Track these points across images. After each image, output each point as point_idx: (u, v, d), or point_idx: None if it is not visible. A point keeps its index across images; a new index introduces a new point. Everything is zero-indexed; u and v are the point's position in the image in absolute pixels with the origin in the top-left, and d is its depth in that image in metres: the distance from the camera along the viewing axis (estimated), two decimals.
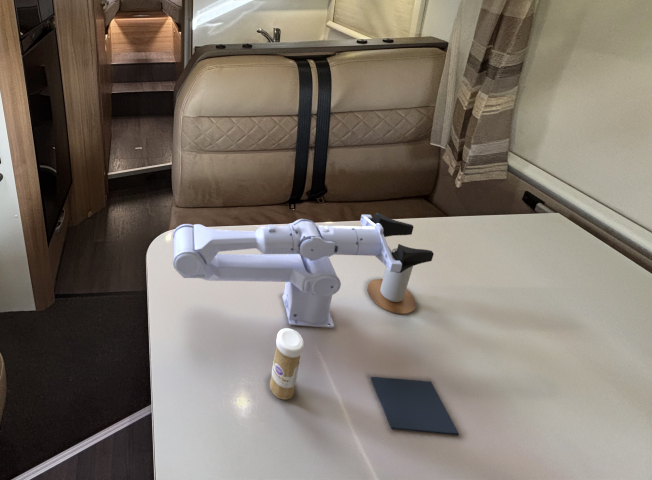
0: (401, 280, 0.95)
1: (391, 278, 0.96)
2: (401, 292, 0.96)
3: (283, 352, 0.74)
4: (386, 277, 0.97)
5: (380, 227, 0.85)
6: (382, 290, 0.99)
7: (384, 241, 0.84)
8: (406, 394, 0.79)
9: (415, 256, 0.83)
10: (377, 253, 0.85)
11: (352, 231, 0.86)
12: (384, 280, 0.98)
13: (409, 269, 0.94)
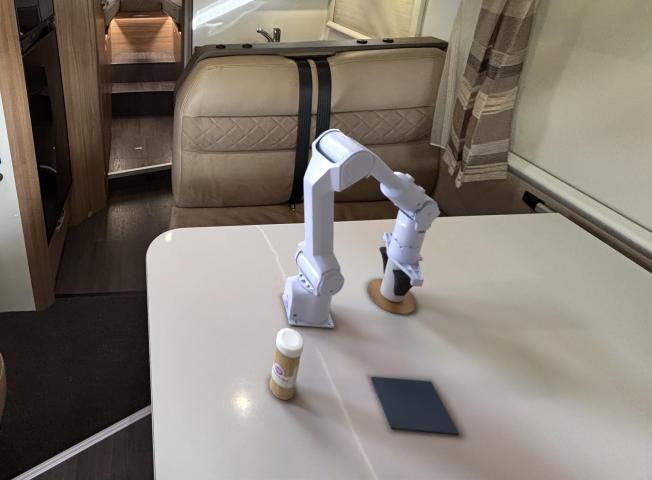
0: None
1: (391, 278, 0.96)
2: None
3: (283, 352, 0.74)
4: (386, 277, 0.97)
5: None
6: (382, 290, 0.99)
7: (418, 265, 0.93)
8: (406, 394, 0.79)
9: (404, 285, 0.94)
10: (405, 261, 0.92)
11: None
12: (384, 280, 0.98)
13: None
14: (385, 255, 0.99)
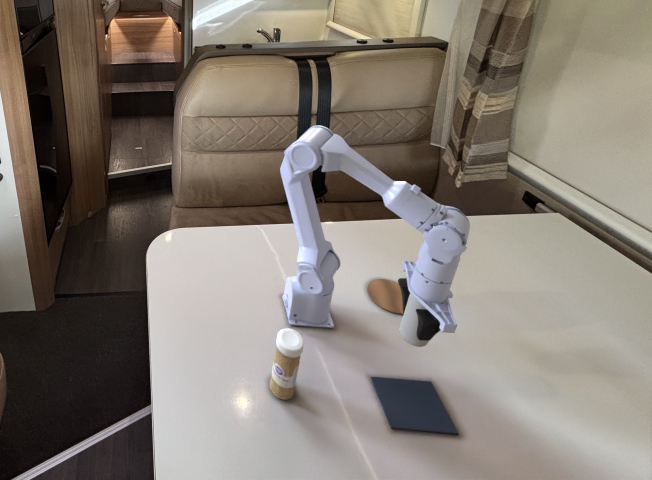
0: None
1: (413, 318, 0.78)
2: None
3: (283, 352, 0.74)
4: (408, 316, 0.80)
5: None
6: (402, 331, 0.81)
7: None
8: (406, 394, 0.79)
9: (431, 328, 0.77)
10: (432, 300, 0.75)
11: (453, 278, 0.73)
12: (405, 320, 0.80)
13: None
14: (405, 289, 0.81)
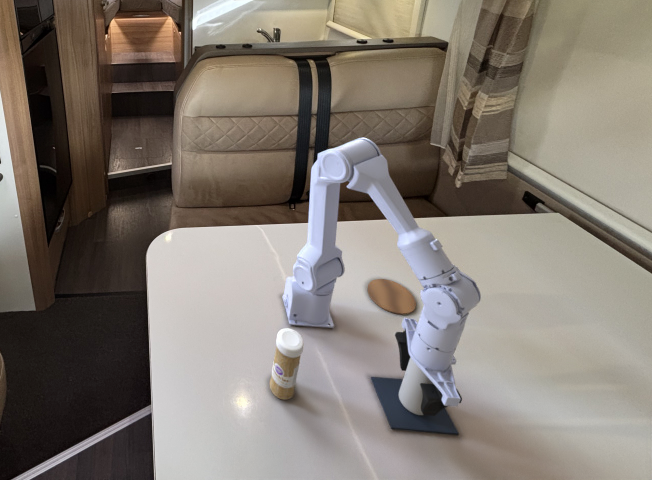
0: None
1: (413, 386, 0.74)
2: None
3: (283, 352, 0.74)
4: (407, 383, 0.75)
5: None
6: (401, 397, 0.77)
7: None
8: None
9: (436, 403, 0.71)
10: (434, 368, 0.70)
11: (453, 348, 0.68)
12: (404, 386, 0.76)
13: None
14: (403, 345, 0.77)
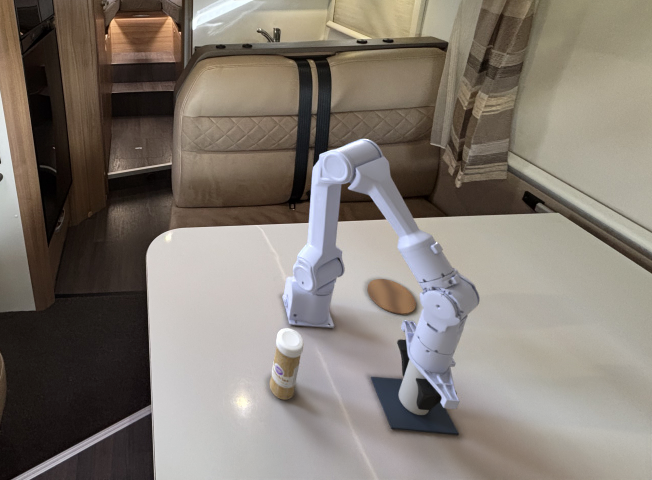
0: None
1: (413, 386, 0.74)
2: None
3: (283, 352, 0.74)
4: (407, 383, 0.75)
5: None
6: (401, 397, 0.77)
7: None
8: None
9: (431, 398, 0.72)
10: (433, 370, 0.70)
11: (452, 351, 0.68)
12: (404, 386, 0.76)
13: None
14: (405, 353, 0.76)
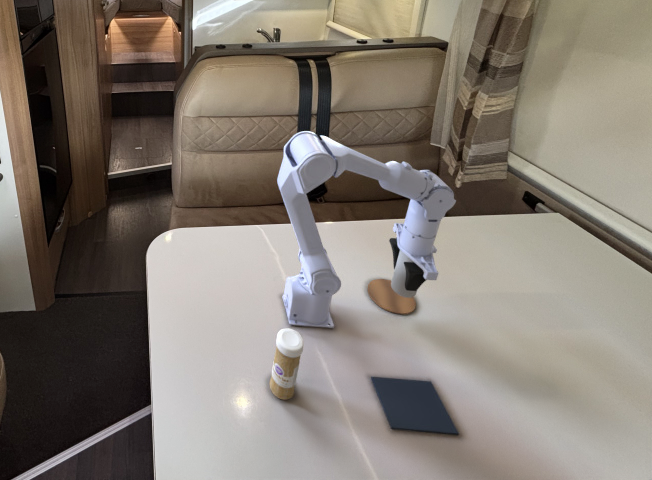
0: None
1: (403, 271, 0.89)
2: None
3: (283, 352, 0.74)
4: (397, 270, 0.90)
5: None
6: (393, 285, 0.92)
7: (432, 257, 0.85)
8: (406, 394, 0.79)
9: (417, 279, 0.87)
10: (418, 253, 0.85)
11: None
12: (395, 274, 0.91)
13: None
14: (395, 247, 0.91)
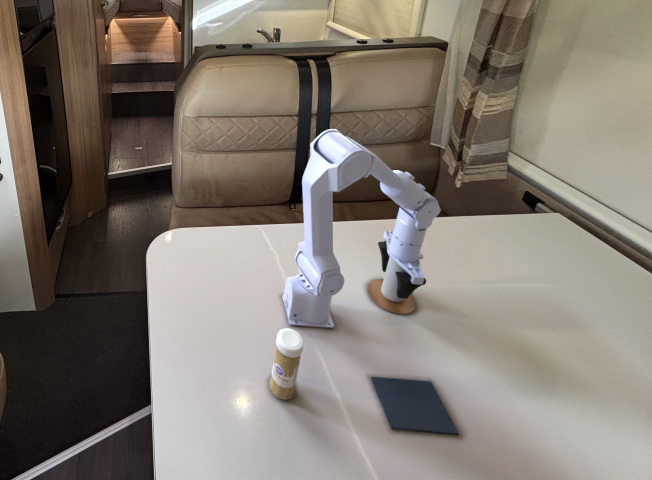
0: None
1: (392, 278, 0.96)
2: None
3: (283, 352, 0.74)
4: (387, 277, 0.97)
5: None
6: (383, 290, 0.99)
7: (419, 263, 0.92)
8: (406, 394, 0.79)
9: (408, 288, 0.93)
10: (406, 259, 0.92)
11: None
12: (385, 280, 0.98)
13: None
14: (383, 250, 1.00)
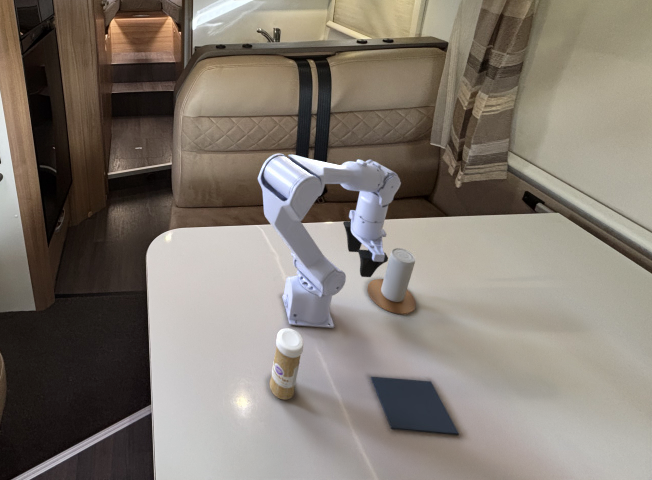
0: (402, 280, 0.95)
1: (392, 278, 0.96)
2: (402, 292, 0.96)
3: (283, 352, 0.74)
4: (387, 277, 0.97)
5: None
6: (383, 290, 0.99)
7: (381, 241, 0.91)
8: (406, 394, 0.79)
9: (370, 266, 0.92)
10: (368, 237, 0.91)
11: None
12: (385, 280, 0.98)
13: (410, 269, 0.94)
14: (348, 229, 0.98)
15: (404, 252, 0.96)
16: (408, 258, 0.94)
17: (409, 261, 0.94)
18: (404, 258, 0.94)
